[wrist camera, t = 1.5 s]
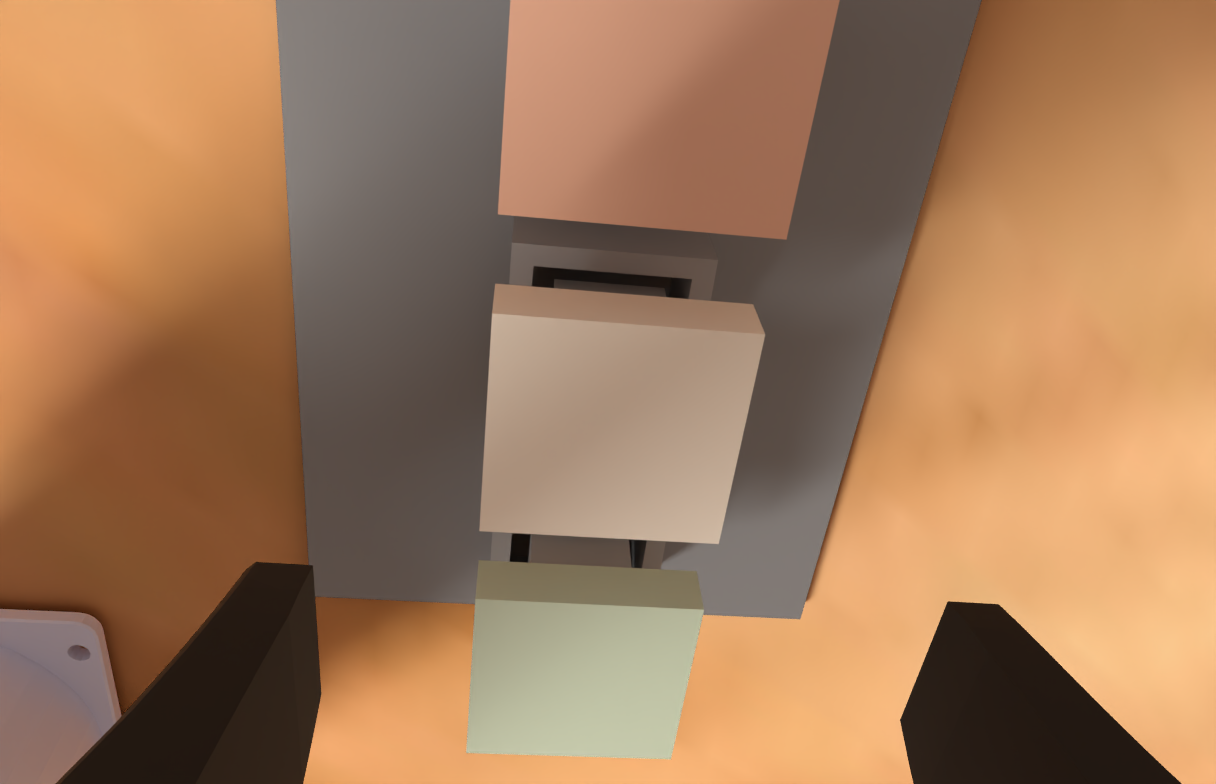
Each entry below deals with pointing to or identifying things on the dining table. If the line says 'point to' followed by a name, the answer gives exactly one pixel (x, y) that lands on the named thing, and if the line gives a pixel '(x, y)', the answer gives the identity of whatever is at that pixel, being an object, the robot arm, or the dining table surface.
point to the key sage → (580, 652)
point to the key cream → (615, 411)
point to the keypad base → (579, 251)
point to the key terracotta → (661, 111)
